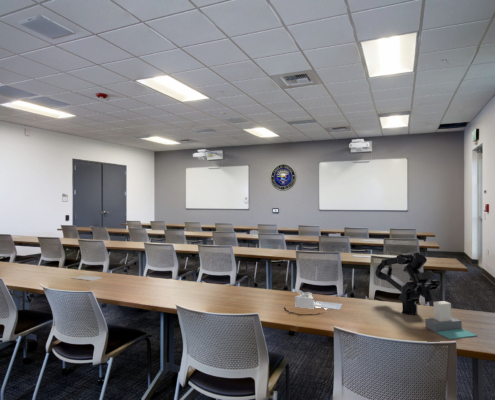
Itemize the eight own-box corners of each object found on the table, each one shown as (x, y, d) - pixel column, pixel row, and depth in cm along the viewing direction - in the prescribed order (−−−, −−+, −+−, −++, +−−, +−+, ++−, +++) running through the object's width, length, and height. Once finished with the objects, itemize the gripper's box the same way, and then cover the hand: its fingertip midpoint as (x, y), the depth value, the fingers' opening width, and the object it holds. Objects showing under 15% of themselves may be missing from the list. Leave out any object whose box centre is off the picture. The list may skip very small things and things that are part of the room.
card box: (434, 318, 162) (433, 301, 162) (444, 317, 163) (444, 301, 163) (440, 321, 158) (439, 304, 158) (451, 320, 159) (450, 303, 159)
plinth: (425, 327, 162) (425, 318, 162) (450, 324, 165) (450, 316, 165) (435, 332, 156) (435, 323, 156) (461, 329, 158) (461, 320, 158)
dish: (324, 317, 181) (323, 296, 181) (279, 313, 190) (278, 292, 190) (331, 304, 203) (330, 285, 204) (290, 301, 213) (290, 283, 213)
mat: (436, 332, 155) (436, 331, 155) (462, 329, 158) (462, 328, 158) (449, 339, 147) (449, 338, 147) (477, 336, 150) (477, 335, 150)
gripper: (405, 266, 172) (421, 293, 161) (438, 264, 175) (455, 290, 164) (396, 278, 179) (411, 305, 168) (427, 276, 183) (443, 302, 172)
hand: (430, 300), depth 168 cm, fingers closed
